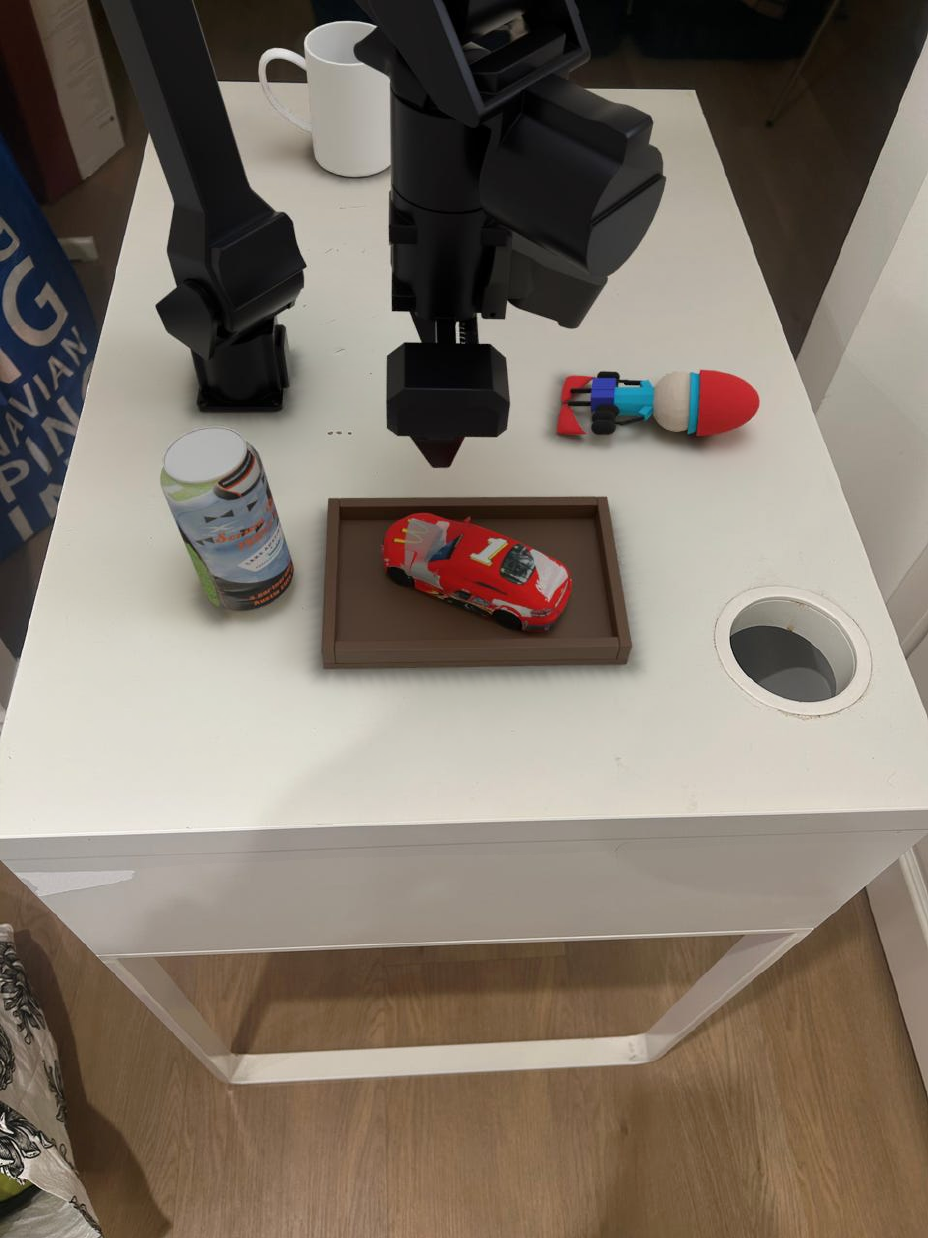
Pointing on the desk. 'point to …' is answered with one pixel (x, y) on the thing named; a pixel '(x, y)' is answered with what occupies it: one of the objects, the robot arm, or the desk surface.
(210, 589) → the beverage can
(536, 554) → the race car
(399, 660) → the tray
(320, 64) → the mug
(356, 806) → the desk surface
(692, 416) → the toy figure
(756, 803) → the desk surface
